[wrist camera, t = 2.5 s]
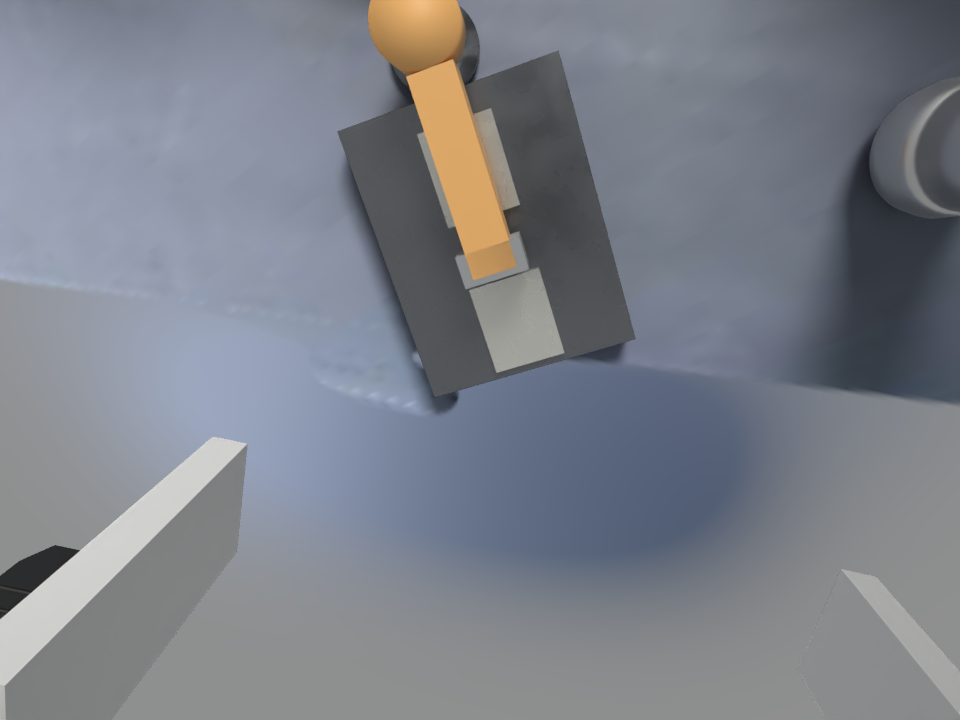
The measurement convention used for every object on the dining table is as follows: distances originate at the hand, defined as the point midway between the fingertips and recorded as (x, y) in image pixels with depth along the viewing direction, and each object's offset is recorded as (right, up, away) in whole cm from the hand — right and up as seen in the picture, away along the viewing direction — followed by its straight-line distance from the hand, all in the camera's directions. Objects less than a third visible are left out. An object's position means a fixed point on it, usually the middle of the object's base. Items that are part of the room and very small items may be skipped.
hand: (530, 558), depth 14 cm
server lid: (0, +12, +22) cm, 25 cm away
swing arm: (-2, +15, +17) cm, 23 cm away
